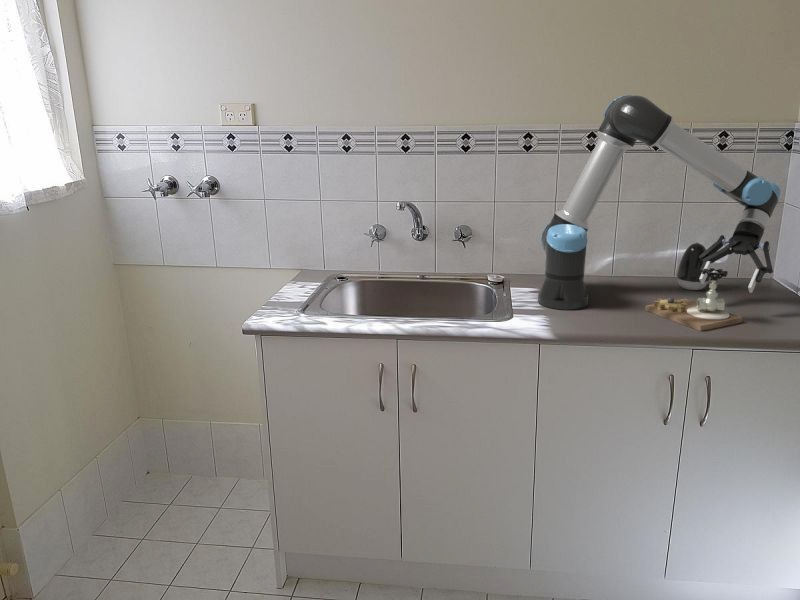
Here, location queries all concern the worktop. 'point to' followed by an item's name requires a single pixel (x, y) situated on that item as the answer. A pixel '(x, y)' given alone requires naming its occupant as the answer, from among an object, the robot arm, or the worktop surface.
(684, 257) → the black egg-shaped capsule
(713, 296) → the valve
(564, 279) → the robot arm
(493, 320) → the worktop surface
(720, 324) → the board
